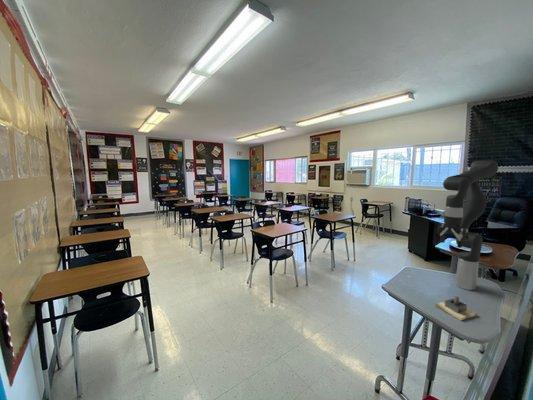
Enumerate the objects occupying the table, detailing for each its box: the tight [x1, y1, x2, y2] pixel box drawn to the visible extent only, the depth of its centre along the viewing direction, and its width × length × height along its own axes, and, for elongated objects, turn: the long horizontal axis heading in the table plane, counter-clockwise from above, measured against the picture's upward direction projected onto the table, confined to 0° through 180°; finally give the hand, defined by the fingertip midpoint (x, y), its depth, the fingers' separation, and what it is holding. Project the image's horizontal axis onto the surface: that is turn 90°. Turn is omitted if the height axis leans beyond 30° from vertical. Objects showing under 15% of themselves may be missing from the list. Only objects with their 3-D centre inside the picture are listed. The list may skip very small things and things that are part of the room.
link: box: [445, 298, 468, 313], centre depth 114 cm, size 6×6×3 cm
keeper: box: [435, 295, 478, 321], centre depth 114 cm, size 11×12×7 cm
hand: (450, 244), depth 122 cm, fingers open, 8 cm apart
